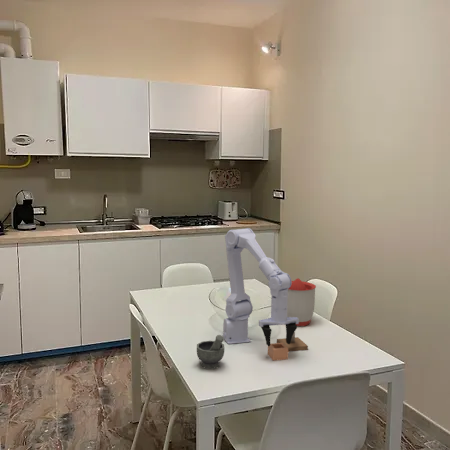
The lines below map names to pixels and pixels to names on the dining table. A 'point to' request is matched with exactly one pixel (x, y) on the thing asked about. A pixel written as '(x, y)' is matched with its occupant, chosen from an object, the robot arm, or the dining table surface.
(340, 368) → the dining table surface
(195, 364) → the dining table surface
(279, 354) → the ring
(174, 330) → the dining table surface
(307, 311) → the citrus juicer
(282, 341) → the post stand
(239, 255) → the robot arm
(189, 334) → the dining table surface
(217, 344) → the mortar and pestle
